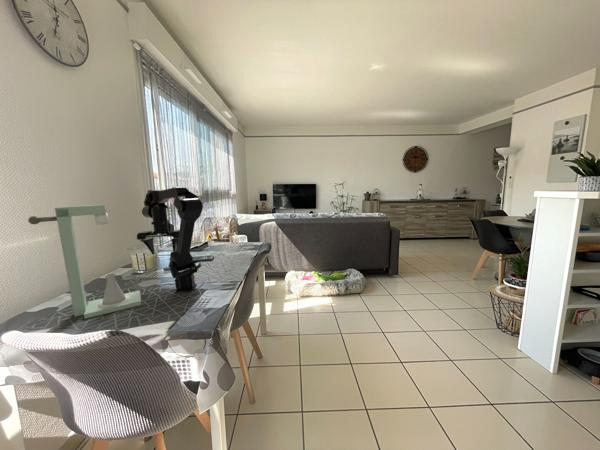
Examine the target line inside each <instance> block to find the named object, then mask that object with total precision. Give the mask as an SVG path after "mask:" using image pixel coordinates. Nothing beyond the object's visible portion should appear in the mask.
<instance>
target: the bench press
mask: <svg viewBox="0 0 600 450" xmlns="http://www.w3.org/2000/svg"><path fill="white" fill-rule="evenodd" d="M54 211H55V216H43V217H42V216H41V217H38V216H37V215H31V216H29V218H27V220H28V223H29V224H31V225H38V224H39V223H44V222H56V221H57V222H56V223H57V226H58V227H57V228H58V233H59V238H60V244H61V249H62V255H63V259H64V266H65V271H66V278H67V282H68V288H69V293H70V298H71V304H72V308H73V309H72V310H73V314H74V317H75V318H76V317H80V316H84V317H83V318H84V320H85V319H89V318H93V317H97V316H102V315H105V314H109V313H114V312H118V311H122V310H125V309H130V308H133V307H138V306H142V295H141V290H136V291H131V292H130V291H129V292H127V293H124V295H125V297H126V299H124V300H123V301H121V302H118V303H114V304H107V305H103V304H102V301H103V298H98V299H94V300H89V301H87V297H86V290H85V286H84V280H83V274H82V269H81V263H80V256H79V251H78V247H77V245H78V244H77V241H76V234H75V229H74V223H73V217H78V216H79V217H81V216H93V215H94V220H95V221H94V222H95V225H97V226H99V225H109V224H110V223H109V222H110V221H109V214H108V212H107V206H106V204H94V205H93V204H91V205H76V206H73V205H72V206H58V207H54Z"/></svg>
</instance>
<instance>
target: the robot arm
mask: <svg viewBox="0 0 600 450" xmlns="http://www.w3.org/2000/svg"><path fill="white" fill-rule="evenodd" d="M180 198H181V199H180ZM183 198H184V199H183ZM172 199H174V200H173V205H174V207H175V208H176V210H177V214H178V216H179V218H180V224H179V229H176V230H175V225H174V224H172V223H170V219H168V211H167V209H168V208H169V207H168V205H167V204H166V203H167V202H169V201H170V200H172ZM143 204H144V205H143V206H144V207H142V210H141V214H142V216H143V217H144V218H147V219H148V218H149V219H152V221H151V222H150V223H151V225H152V226H153V231H152V230H147V231H141V232H140V231H139V232H138V233H137V234H136V240H139V241H140V242H142V243H143V244H144V245H145V247H147V249H148V250H149V252H150V253H151V254H152V255H154V254H155V246H154V240H155V239H154V238H161V237H162V238H163V237H172V238H171V245H172V246H171V247H172V251H171V252H170V255H169V257H170V258H169V263H168V267H169V270H170V274H171V276H172V279H174V283H175V284H174V285H175V292H177V293H178V292H191V291H193V290H194V289H195V288H196V287H197V286H198V285H197V283H196V282H195V281H196V280H195V273H198V267H197V265H196V263H195V261H194V259H193V255H192V254H191V247H192V242H193V235H194V229H195V224H196V222H197V220H199V218H200V217H201V215H202V212H203V208H204V204H203V202H202V201H201V199H200V198H199V196H198V195H196V194H195V193H193V192H192V191H189V188H187V186H173V187H171V188H167V189H149V190H147V193H145V197H144V200H143Z"/></svg>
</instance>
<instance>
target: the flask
mask: <svg viewBox="0 0 600 450" xmlns="http://www.w3.org/2000/svg"><path fill="white" fill-rule="evenodd" d="M116 275H117V273H116V272H112V273H107V274H105V275H104V277H105V279H106V286H105V289H104V294H103V298H102V299H103V301H102V304H103V305H107V304H114V303H118V302H121V301H123V300H124V299H126V297H125V295H124V294H125V293H124V292H123V290H122V289H121V287H120V285H119V284H118V282H117V279H116Z"/></svg>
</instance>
